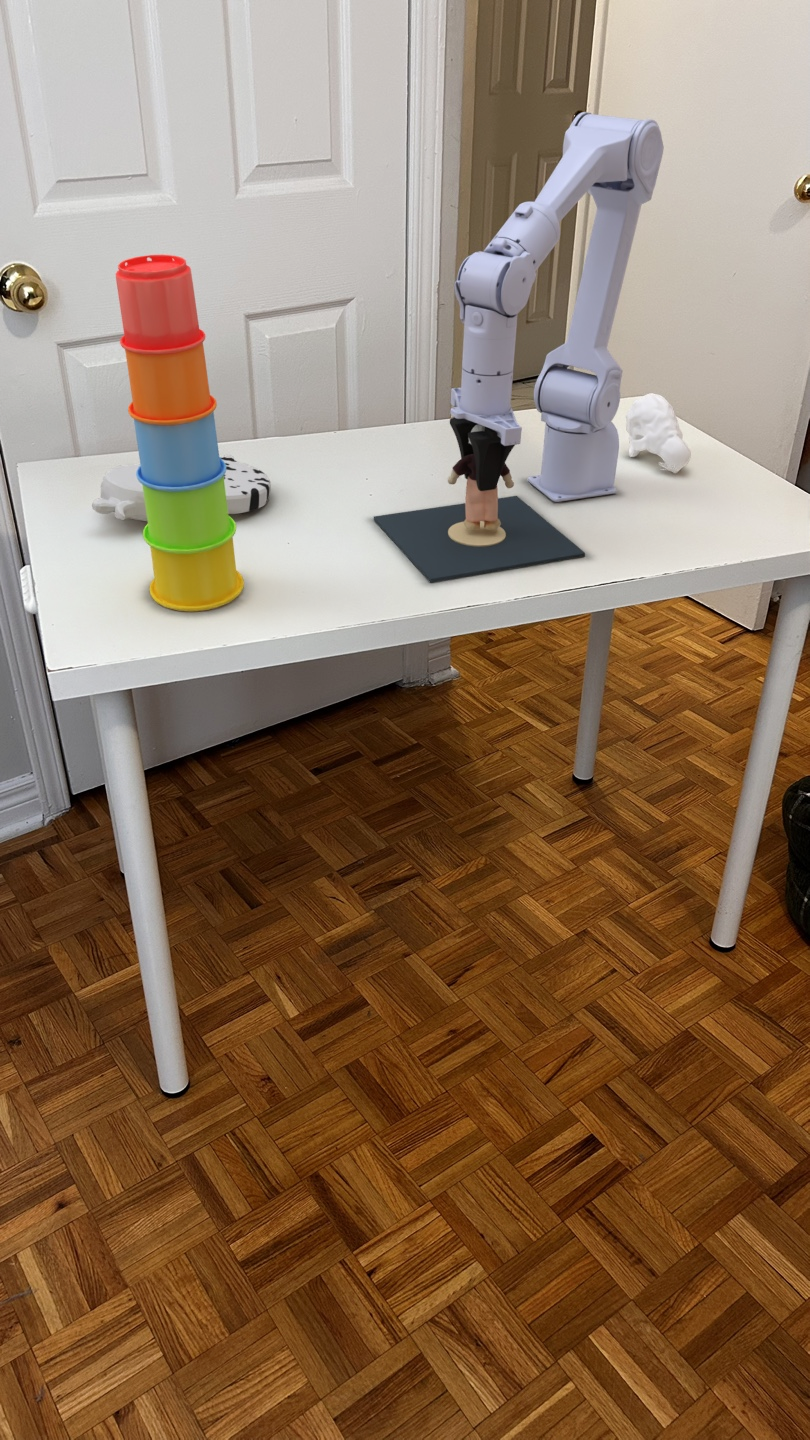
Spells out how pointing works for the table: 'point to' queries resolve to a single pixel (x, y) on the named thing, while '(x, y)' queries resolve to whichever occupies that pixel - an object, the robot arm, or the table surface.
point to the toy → (127, 496)
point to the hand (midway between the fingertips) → (480, 483)
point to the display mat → (476, 540)
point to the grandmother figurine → (479, 493)
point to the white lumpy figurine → (656, 431)
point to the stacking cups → (176, 437)
